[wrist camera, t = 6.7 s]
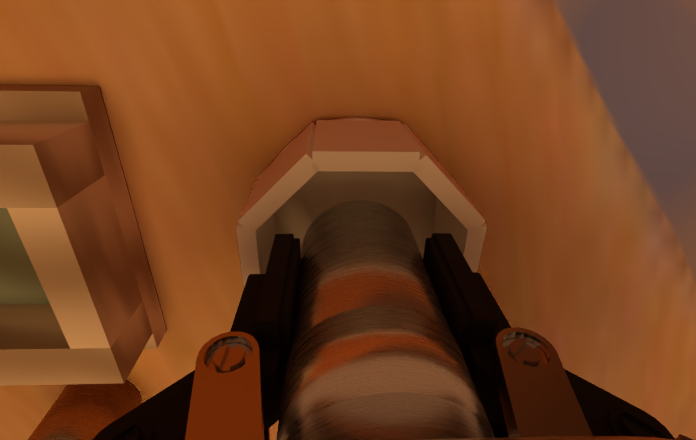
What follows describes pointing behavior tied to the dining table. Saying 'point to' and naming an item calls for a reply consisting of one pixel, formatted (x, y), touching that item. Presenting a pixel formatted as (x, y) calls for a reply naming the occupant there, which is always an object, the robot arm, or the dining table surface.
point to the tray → (68, 244)
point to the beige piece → (355, 188)
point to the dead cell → (372, 339)
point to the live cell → (86, 410)
